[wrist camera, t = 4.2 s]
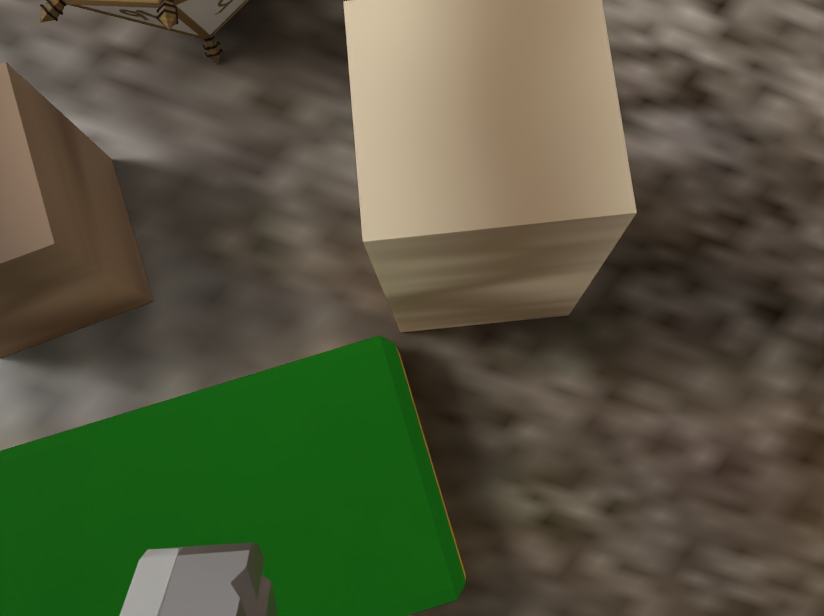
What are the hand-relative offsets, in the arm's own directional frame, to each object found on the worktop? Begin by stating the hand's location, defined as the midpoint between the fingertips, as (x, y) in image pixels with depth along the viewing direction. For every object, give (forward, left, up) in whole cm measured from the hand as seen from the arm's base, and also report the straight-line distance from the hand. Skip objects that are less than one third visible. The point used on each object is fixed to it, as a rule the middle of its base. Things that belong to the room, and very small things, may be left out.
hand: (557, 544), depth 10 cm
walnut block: (-13, +9, -11) cm, 19 cm away
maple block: (0, +8, -11) cm, 14 cm away
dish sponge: (-9, 0, -12) cm, 15 cm away
